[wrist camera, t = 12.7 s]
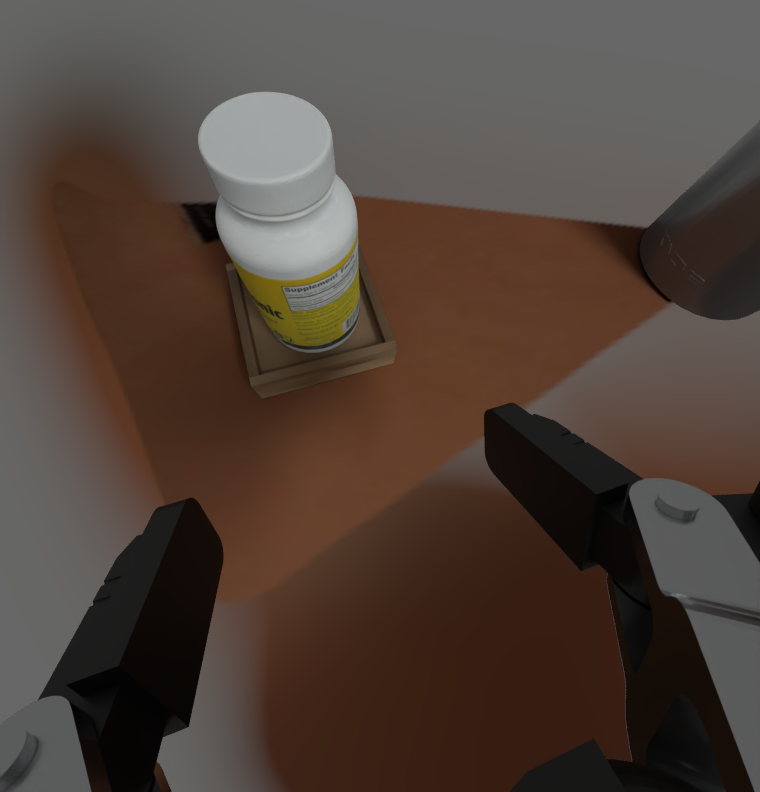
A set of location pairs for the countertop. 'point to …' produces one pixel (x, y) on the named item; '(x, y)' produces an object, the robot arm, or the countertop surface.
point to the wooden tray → (292, 370)
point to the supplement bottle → (285, 216)
